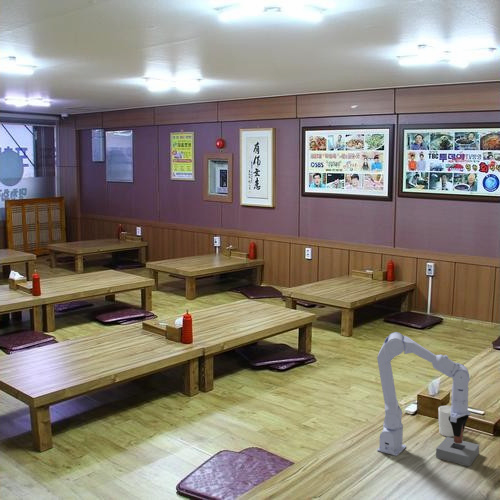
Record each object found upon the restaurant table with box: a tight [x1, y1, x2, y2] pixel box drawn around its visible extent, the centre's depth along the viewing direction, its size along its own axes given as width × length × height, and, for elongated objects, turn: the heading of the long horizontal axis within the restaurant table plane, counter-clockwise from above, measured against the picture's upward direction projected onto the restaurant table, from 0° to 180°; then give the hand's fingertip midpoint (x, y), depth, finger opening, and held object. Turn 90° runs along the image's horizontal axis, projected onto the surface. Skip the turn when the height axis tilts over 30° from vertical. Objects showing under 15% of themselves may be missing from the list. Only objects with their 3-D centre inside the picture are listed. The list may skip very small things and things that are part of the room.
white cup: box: [437, 405, 454, 438], centre depth 241 cm, size 8×8×10 cm
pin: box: [453, 426, 464, 444], centre depth 222 cm, size 3×3×8 cm
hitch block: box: [435, 436, 480, 467], centre depth 223 cm, size 12×12×4 cm
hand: (458, 434), depth 222 cm, fingers closed on pin, 3 cm apart
